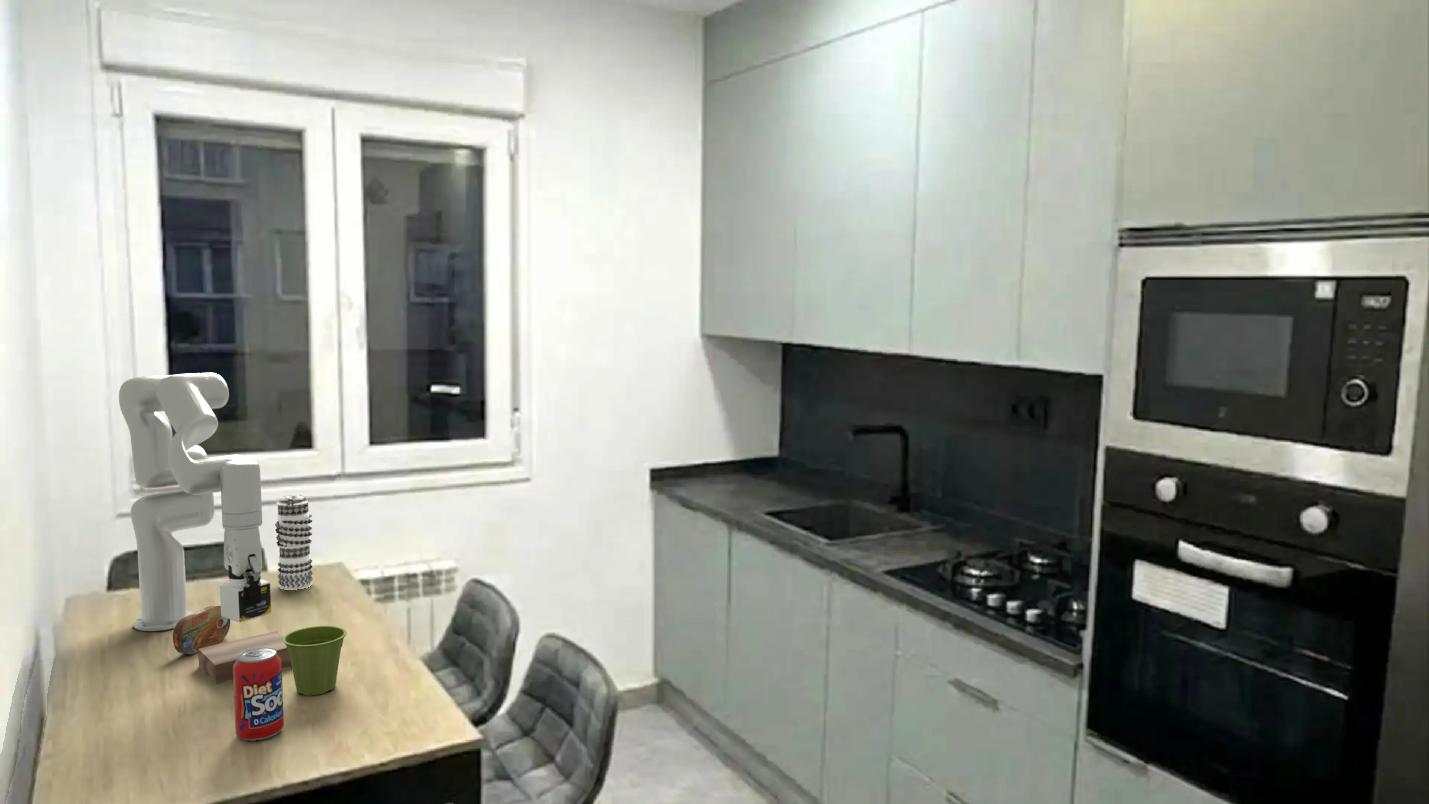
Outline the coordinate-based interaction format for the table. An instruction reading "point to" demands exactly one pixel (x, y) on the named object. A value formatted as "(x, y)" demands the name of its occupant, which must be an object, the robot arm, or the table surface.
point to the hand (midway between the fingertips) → (245, 599)
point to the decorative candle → (294, 542)
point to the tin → (200, 630)
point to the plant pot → (315, 657)
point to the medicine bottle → (242, 599)
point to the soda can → (258, 694)
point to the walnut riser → (224, 655)
